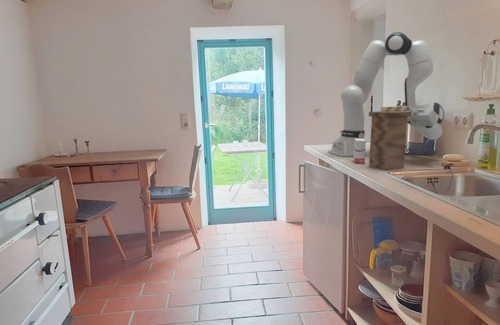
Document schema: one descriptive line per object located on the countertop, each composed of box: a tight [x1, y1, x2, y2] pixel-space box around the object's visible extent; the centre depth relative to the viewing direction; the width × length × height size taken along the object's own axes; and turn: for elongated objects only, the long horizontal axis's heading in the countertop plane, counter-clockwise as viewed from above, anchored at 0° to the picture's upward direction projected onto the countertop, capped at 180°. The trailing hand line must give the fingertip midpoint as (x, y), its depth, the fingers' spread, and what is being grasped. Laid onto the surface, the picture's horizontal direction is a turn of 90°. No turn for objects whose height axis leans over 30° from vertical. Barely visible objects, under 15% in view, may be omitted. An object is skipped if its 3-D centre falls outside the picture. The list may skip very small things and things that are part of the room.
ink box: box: [353, 138, 367, 164], centre depth 178 cm, size 9×5×12 cm, turn 168°
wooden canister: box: [368, 110, 411, 171], centre depth 164 cm, size 12×14×26 cm
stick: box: [380, 105, 413, 112], centre depth 164 cm, size 20×2×2 cm, turn 120°
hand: (405, 106), depth 166 cm, fingers closed on stick, 2 cm apart
